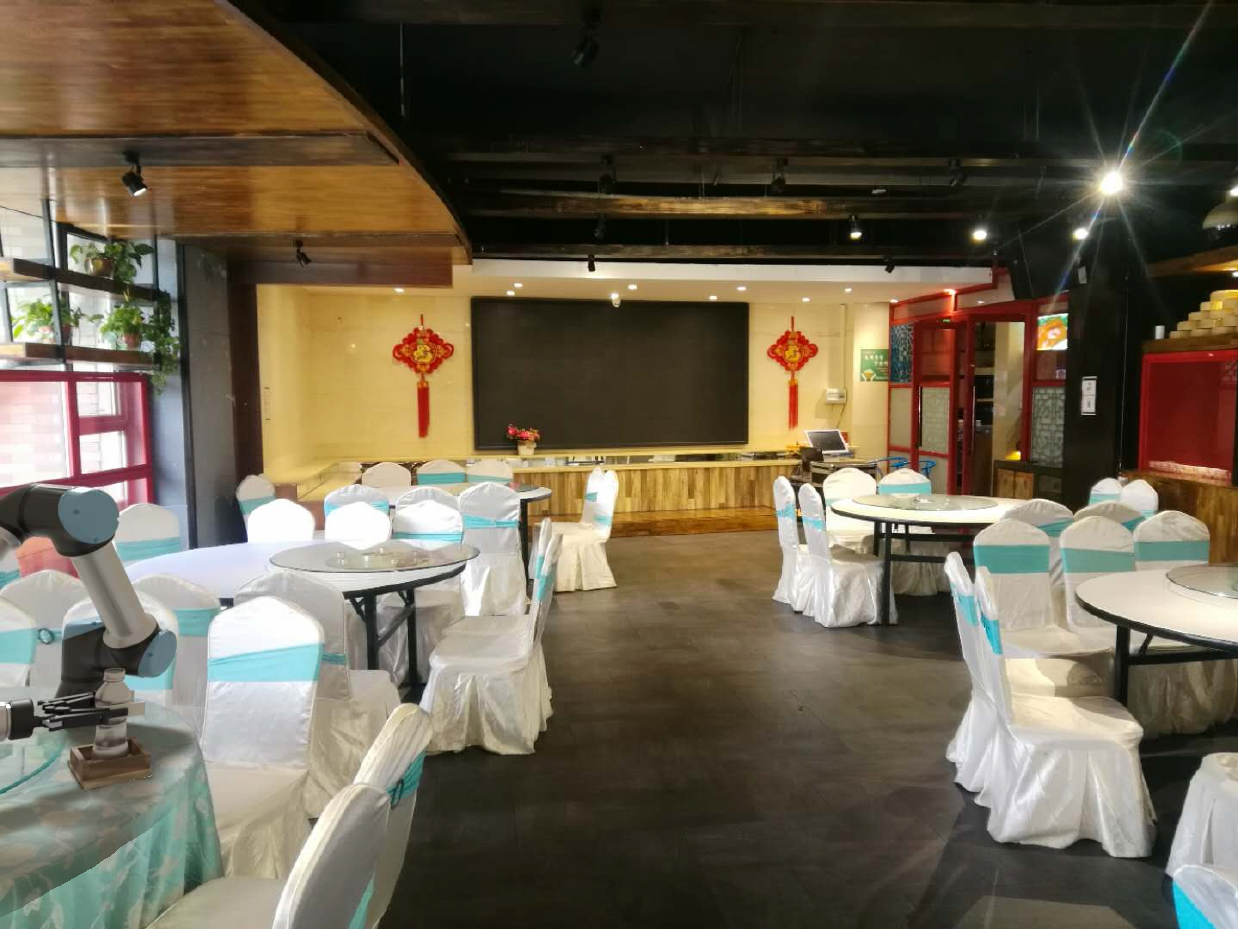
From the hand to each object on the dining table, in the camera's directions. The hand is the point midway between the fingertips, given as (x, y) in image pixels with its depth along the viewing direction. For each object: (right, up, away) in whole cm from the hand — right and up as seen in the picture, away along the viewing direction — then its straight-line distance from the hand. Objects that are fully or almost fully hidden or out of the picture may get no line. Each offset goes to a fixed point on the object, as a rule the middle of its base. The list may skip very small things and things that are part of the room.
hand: (138, 702), depth 177 cm
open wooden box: (-4, -13, -3) cm, 14 cm away
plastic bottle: (-4, -12, -3) cm, 14 cm away
